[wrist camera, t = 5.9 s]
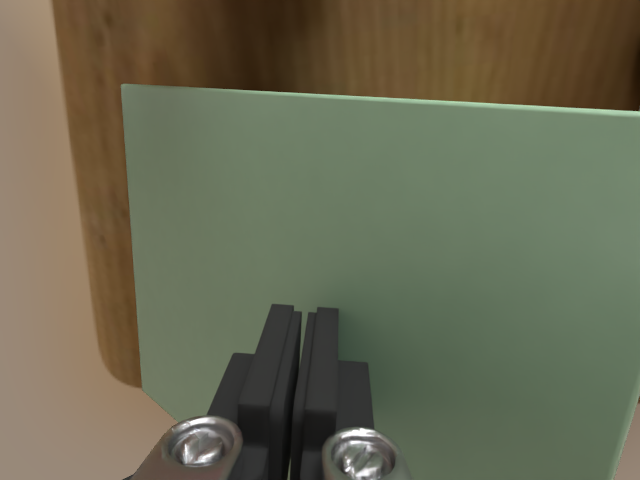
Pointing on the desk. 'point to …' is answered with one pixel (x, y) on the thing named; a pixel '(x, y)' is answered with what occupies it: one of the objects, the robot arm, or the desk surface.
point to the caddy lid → (400, 263)
